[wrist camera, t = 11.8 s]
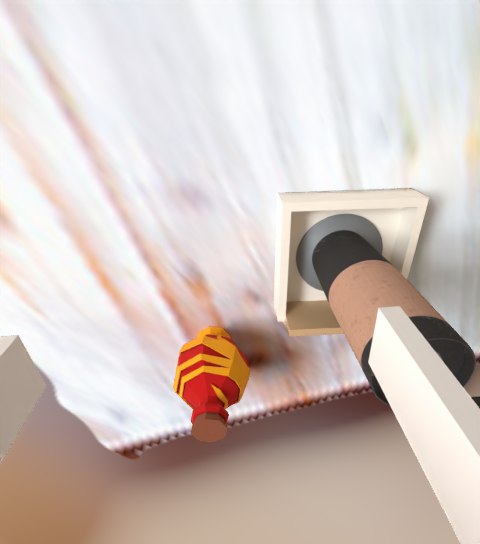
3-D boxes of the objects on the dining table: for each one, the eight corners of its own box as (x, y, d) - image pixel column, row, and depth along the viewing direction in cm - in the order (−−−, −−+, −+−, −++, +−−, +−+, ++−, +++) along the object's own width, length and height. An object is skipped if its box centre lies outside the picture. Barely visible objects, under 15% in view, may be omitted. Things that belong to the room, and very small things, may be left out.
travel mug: (381, 243, 40) (501, 359, 23) (344, 289, 43) (425, 421, 26) (332, 216, 38) (423, 320, 21) (297, 267, 41) (350, 393, 24)
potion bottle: (252, 358, 51) (262, 450, 38) (189, 369, 51) (176, 463, 38) (240, 305, 46) (246, 390, 32) (170, 317, 46) (148, 406, 33)
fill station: (277, 192, 38) (287, 212, 32) (410, 188, 38) (445, 206, 32) (273, 304, 46) (281, 336, 40) (384, 299, 46) (408, 330, 40)
